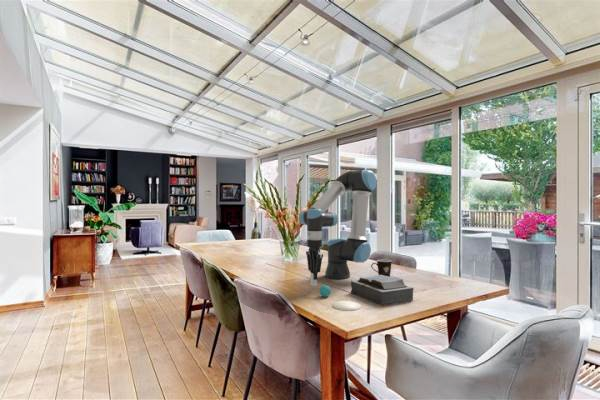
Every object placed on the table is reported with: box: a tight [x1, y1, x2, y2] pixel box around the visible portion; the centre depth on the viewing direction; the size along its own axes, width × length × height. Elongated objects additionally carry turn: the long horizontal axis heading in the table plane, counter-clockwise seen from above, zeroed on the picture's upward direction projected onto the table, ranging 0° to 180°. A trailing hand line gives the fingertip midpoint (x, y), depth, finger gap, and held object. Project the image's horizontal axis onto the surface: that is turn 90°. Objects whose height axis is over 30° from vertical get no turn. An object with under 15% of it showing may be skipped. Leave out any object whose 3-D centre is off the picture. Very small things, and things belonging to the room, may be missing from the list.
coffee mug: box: [371, 258, 392, 277], centre depth 211 cm, size 12×9×10 cm
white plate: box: [331, 300, 362, 312], centre depth 155 cm, size 13×13×1 cm
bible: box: [350, 274, 414, 306], centre depth 170 cm, size 23×27×10 cm
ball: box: [319, 284, 332, 298], centre depth 169 cm, size 6×6×6 cm
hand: (314, 285), depth 177 cm, fingers closed
